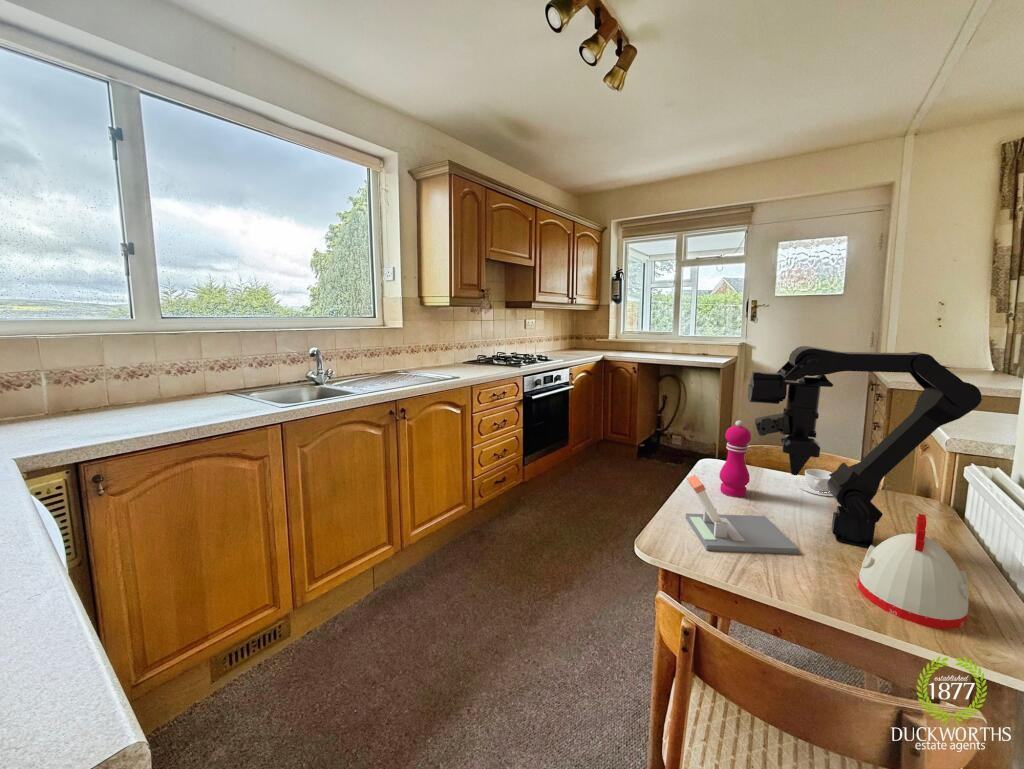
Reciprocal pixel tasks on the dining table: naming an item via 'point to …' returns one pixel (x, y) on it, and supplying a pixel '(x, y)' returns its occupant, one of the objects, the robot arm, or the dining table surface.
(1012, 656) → the dining table surface
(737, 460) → the pepper mill
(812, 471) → the teacup
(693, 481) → the switch lever
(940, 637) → the dining table surface
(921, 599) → the kitchen timer
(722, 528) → the switch panel
